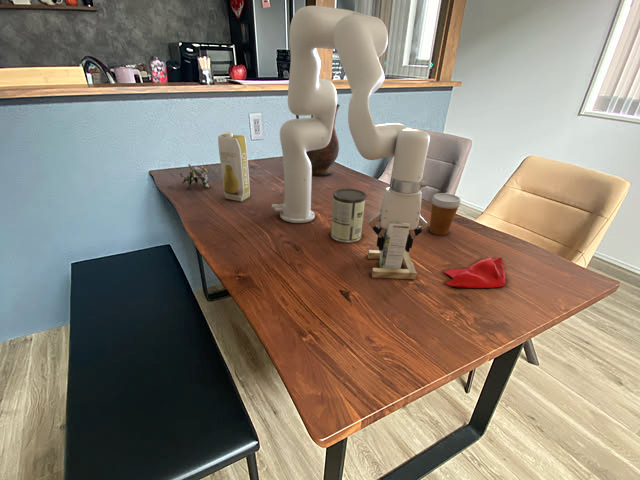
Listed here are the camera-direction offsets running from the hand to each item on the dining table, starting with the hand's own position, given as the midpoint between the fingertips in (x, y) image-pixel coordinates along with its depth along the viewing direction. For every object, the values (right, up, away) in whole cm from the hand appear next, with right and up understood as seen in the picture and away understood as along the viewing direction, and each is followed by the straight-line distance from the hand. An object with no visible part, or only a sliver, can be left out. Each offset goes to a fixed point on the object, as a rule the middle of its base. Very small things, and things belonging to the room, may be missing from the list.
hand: (393, 249), depth 102 cm
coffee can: (-12, +8, +19) cm, 24 cm away
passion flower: (-73, +36, +51) cm, 96 cm away
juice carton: (-54, +29, +44) cm, 75 cm away
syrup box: (0, -5, +4) cm, 6 cm away
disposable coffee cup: (+21, +11, +26) cm, 35 cm away
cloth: (+26, -8, +2) cm, 27 cm away
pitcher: (-23, +51, +75) cm, 94 cm away
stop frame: (0, -5, +4) cm, 6 cm away
